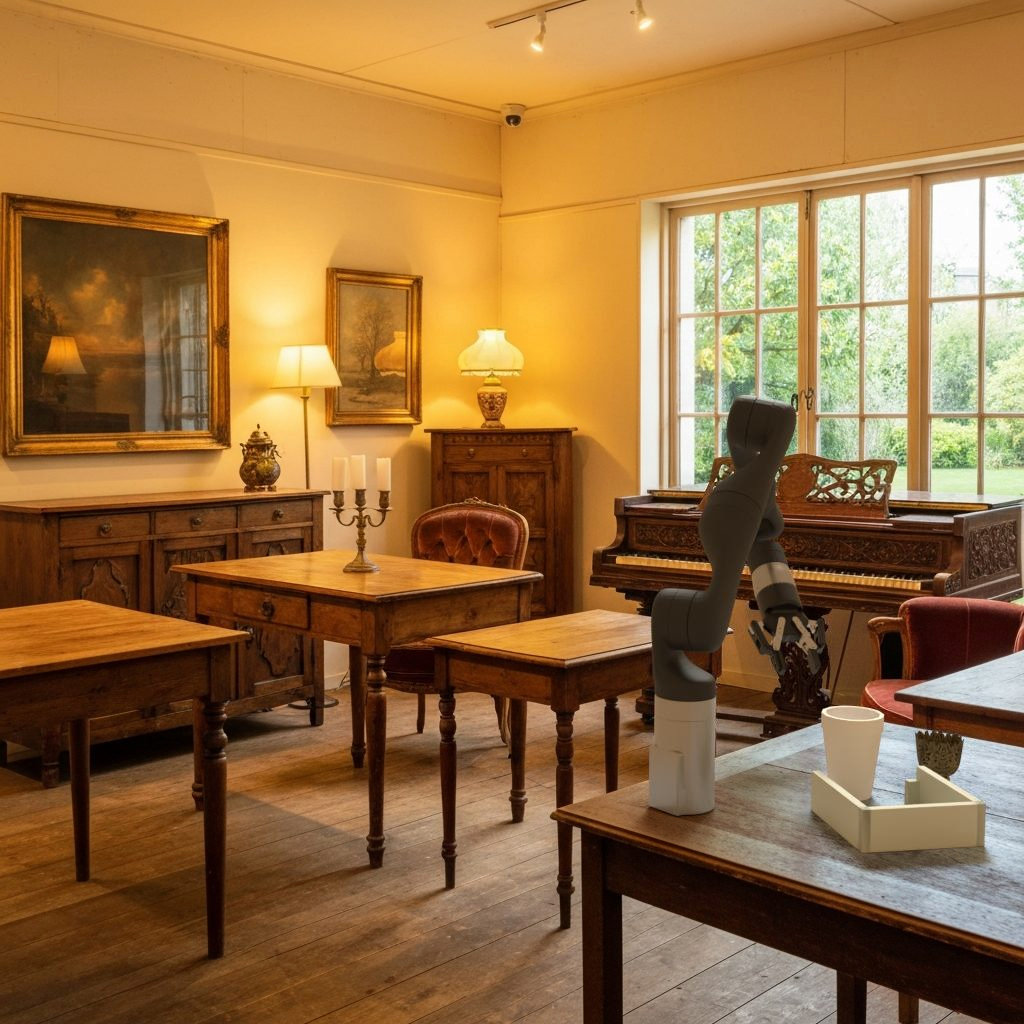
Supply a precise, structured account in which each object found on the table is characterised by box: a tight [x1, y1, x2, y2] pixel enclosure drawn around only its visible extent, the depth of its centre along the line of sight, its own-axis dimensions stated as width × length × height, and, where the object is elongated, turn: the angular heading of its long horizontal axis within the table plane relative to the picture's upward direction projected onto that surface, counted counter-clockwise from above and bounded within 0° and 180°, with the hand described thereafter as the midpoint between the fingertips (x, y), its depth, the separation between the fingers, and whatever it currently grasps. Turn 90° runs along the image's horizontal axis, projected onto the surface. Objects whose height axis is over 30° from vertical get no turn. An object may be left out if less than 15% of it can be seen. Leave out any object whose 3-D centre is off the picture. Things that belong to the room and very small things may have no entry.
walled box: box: [810, 765, 987, 854], centre depth 178 cm, size 18×18×6 cm
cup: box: [914, 729, 965, 782], centre depth 198 cm, size 8×7×8 cm
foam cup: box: [820, 705, 885, 802], centre depth 192 cm, size 10×9×13 cm
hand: (799, 671), depth 213 cm, fingers open, 5 cm apart
